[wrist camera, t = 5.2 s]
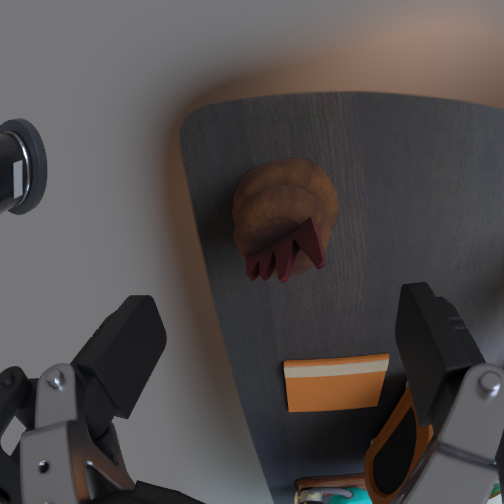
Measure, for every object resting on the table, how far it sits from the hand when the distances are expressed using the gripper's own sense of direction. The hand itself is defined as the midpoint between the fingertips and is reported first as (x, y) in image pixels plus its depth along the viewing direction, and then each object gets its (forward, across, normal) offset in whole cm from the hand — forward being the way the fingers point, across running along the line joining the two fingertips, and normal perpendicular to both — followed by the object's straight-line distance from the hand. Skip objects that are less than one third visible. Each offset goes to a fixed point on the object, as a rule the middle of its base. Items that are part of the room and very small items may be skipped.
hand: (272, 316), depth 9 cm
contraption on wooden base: (+17, -7, +61) cm, 64 cm away
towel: (+17, -4, +24) cm, 29 cm away
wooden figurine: (+17, 0, 0) cm, 17 cm away
